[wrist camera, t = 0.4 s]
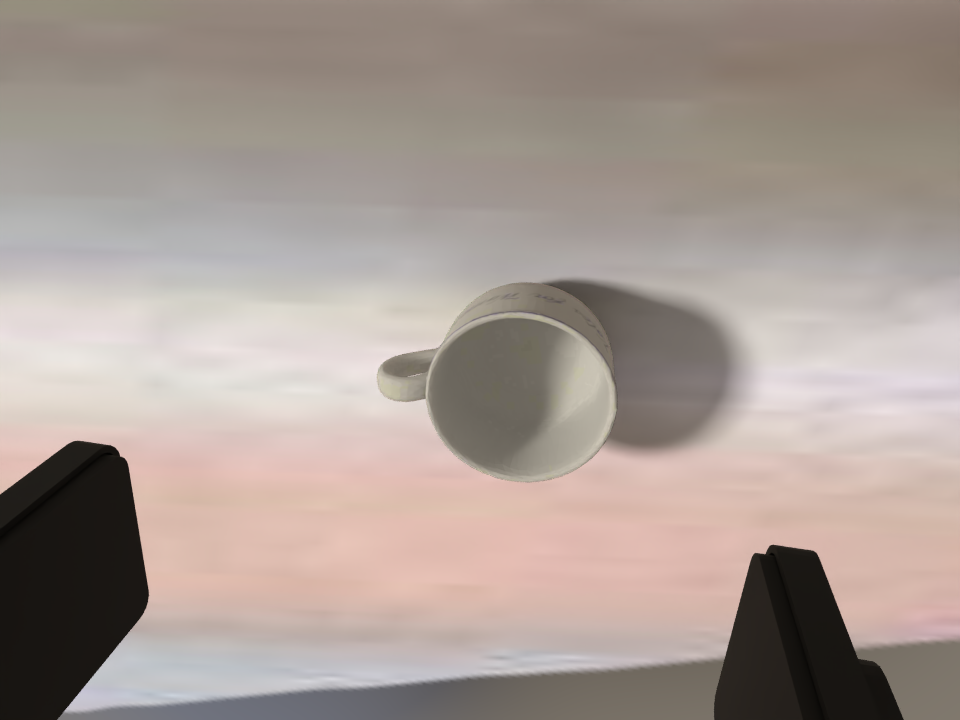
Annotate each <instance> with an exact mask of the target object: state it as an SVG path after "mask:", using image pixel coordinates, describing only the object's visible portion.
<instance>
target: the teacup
mask: <svg viewBox="0 0 960 720" xmlns="http://www.w3.org/2000/svg"><path fill="white" fill-rule="evenodd" d="M422 373H423V374H422ZM416 374H420V375H416ZM412 375H416V376H412ZM408 376H412V377H408ZM377 383H378V388H379V390H380V392H381V393H382V394H383V395H384V396H385V397H387V398H388V399H391V400H394V401H402V402H409V401H417V400H421V399H425V398H426V404H427V408H428V412H429V416H430V419H431V421H432V423H433V426H434V428H435V430H436V432H437V434H438V436H439V437H440V439H441V440H442V442H443V443H444V444H445V446H446V447H447V448H448V449H449V450H450V451H451V452H452V453H453V454H454V455H455V456H456V457H458V458H459V459H460V460H461V461H463V462H464V463H466V464H467V465H469V466H470V467H472V468H474V469H476V470H478V471H480V472H482V473H484V474H487V475H490V476H493V477H495V478H498V479H502V480H507V481H515V482H538V481H545V480H550V479H554V478H557V477H560V476H563V475H566V474H568V473H570V472H573V471H574V470H576V469H578V468H579V467H581V466H582V465H584V464H585V463H586V462H588V461H589V460H590V459H592V458H593V456H594V455H595V454H596V453H597V452H598V451H599V450H600V448H601V447H602V446H603V444H604V443H605V441H606V439H607V437H608V435H609V434H610V432H611V429H612V427H613V424H614V421H615V417H616V412H617V387H616V383H615V376H614V363H613V356H612V351H611V347H610V343H609V340H608V338H607V335H606V333H605V330H604V329H603V327H602V325H601V323H600V322H599V320H598V319H597V317H596V316H595V315H594V314H593V313H592V311H591V310H590V309H589V308H588V307H587V306H586V305H584V304H583V303H582V302H581V301H580V300H578V299H577V298H575V297H574V296H572V295H571V294H569V293H567V292H565V291H563V290H560V289H558V288H555V287H552V286H549V285H544V284H538V283H514V284H508V285H504V286H500V287H497V288H495V289H492V290H490V291H488V292H486V293H484V294H483V295H481V296H479V297H478V298H476V299H475V300H474V301H472V302H471V303H470V304H469V305H468V306H467V307H466V308H465V309H464V310H463V311H462V312H461V313H460V315H459V316H458V317H457V319H456V320H455V322H454V323H453V325H452V326H451V328H450V330H449V331H448V333H447V335H446V337H445V339H444V341H443V343H442V344H441V345H440V347H439V348H436V349H431V350H424V351H418V352H412V353H407V354H402V355H399V356H395V357H393V358H390V359H388V360H387V361H385V362H384V363H383V364H382V365H381V366H380V367H379V369H378V373H377Z"/></svg>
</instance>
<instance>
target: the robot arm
mask: <svg viewBox="0 0 960 720" xmlns="http://www.w3.org/2000/svg"><path fill="white" fill-rule="evenodd" d="M148 597H149V590H148V584H147V578H146V572H145V566H144V560H143V553H142V547H141V541H140V535H139V529H138V523H137V516H136V510H135V504H134V498H133V492H132V486H131V479H130V473H129V467H128V463H127V461H126V460H125V458H123V457H120V454H119V452H118V450H117V449H116V448H115V447H113V446H111V445H104V444H97V443H91V442H84V441H73V442H71V443H69V444H67V445H66V446H65V447H63V448H62V449H61V450H59V451H58V452H57V453H55V454H54V455H53V456H51V457H50V458H49V459H47V460H46V461H45V462H43V463H42V464H41V465H39V466H38V467H37V468H35V469H34V470H33V471H31V472H30V473H28V474H27V475H26V476H24V477H23V478H22V479H20V480H19V481H18V482H16V483H15V484H14V485H12V486H11V487H10V488H8V489H7V490H6V491H4V492H3V493H2V494H0V720H57V719H58V718H59V717H60V716H61V714H62V713H63V712H64V711H65V709H66V708H67V707H68V706H69V705H70V703H71V702H72V701H73V700H74V698H75V697H76V696H77V695H78V694H79V692H80V691H81V690H82V689H83V687H84V686H85V685H86V684H87V683H88V681H89V680H90V679H91V678H92V676H93V675H94V674H95V673H96V672H97V670H98V669H99V668H100V667H101V665H102V664H103V663H104V662H105V661H106V659H107V658H108V657H109V656H110V654H111V653H112V652H113V651H114V650H115V648H116V647H117V646H118V645H119V643H120V642H121V641H122V640H123V639H124V637H125V636H126V635H127V634H128V632H129V631H130V630H131V629H132V628H133V626H134V625H135V624H136V623H137V621H138V620H139V619H140V618H141V616H142V615H143V613H144V611H145V609H146V606H147V603H148ZM714 719H715V720H904V719H903V717H902V714H901V712H900V710H899V707H898V705H897V702H896V700H895V698H894V695H893V693H892V691H891V688H890V686H889V683H888V681H887V679H886V677H885V675H884V673H883V671H882V669H881V668H880V666H878V665H877V664H876V663H875V662H873V661H867V660H861V659H858V658H857V655H856V653H855V650H854V647H853V645H852V642H851V640H850V637H849V634H848V632H847V629H846V627H845V624H844V621H843V619H842V616H841V614H840V611H839V608H838V606H837V603H836V601H835V598H834V595H833V593H832V590H831V588H830V585H829V582H828V580H827V577H826V575H825V572H824V569H823V567H822V564H821V562H820V559H819V557H818V555H817V553H816V552H814V551H811V550H804V549H798V548H791V547H784V546H778V545H771V546H769V548H768V550H767V552H766V554H759V553H755V554H754V555H753V556H752V559H751V562H750V565H749V569H748V573H747V577H746V581H745V584H744V588H743V592H742V596H741V599H740V603H739V607H738V611H737V615H736V618H735V622H734V626H733V630H732V633H731V637H730V641H729V645H728V649H727V652H726V656H725V660H724V664H723V668H722V671H721V676H720V679H719V683H718V686H717V690H716V695H715V703H714Z"/></svg>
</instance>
